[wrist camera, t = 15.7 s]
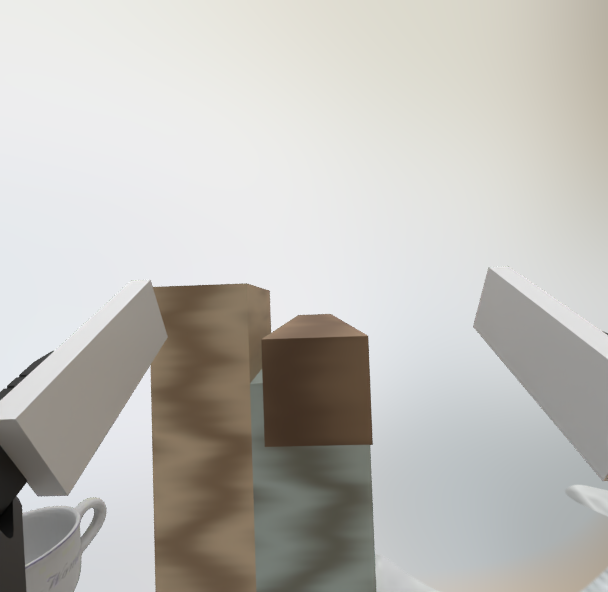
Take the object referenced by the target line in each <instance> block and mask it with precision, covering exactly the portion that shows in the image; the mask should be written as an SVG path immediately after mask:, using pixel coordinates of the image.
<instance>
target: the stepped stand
mask: <svg viewBox="0 0 608 592" xmlns="http://www.w3.org/2000/svg"><path fill="white" fill-rule="evenodd" d="M153 290H154V293H155V296H156V300H157V303H158V306H159V310H160V313H161V316H162V320H163V323H164V326H165V330H166V333H167V336H168V338H167V339H166V341H165V342H164V344H163V346H162V347H161V349H160V350H159V352H158V354H157V355H156V357H155V358H154V360H153V362H152V363H151V397H152V399H151V400H152V401H151V402H152V446H153V447H152V448H153V493H154V538H155V585H156V592H376V575H375V551H374V527H373V503H372V480H371V454H370V445H334V446H288V447H265V441H264V410H263V378H262V347H261V339H263V338H264V337H266V336H267V335H269V334H270V333H271V319H270V291H269V290H265V289H262V288H259V287H256V286H253V285H249V284H224V285H223V284H221V285H197V286H169V287H153Z"/></svg>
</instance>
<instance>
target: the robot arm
mask: <svg viewBox="0 0 608 592" xmlns="http://www.w3.org/2000/svg"><path fill="white" fill-rule="evenodd" d="M473 327H474V328H475V329H476V331H477V332H478V333H479V334H480V335H481V337H482V338H483V339H484V340H485V341H486V343H487V344H488V345H489V346H490V347H491V348H492V350H493V351H494V352H495V353H496V355H497V356H498V357H499V358H500V359H501V360H502V362H503V363H504V364H505V365H506V366H507V368H508V369H509V370H510V371H511V372H512V374H513V375H514V376H515V377H516V378H517V379H518V381H519V382H520V383H521V384H522V385H523V387H524V388H525V389H526V390H527V391H528V393H529V394H530V395H531V396H532V397H533V399H534V400H535V401H536V402H537V403H538V404H539V406H540V407H541V408H542V409H543V411H544V412H545V413H546V414H547V415H548V416H549V418H550V419H551V420H552V421H553V422H554V424H555V425H556V426H557V427H558V428H559V430H560V431H561V432H562V433H563V434H564V436H565V437H566V438H567V439H568V440H569V441H570V443H571V444H572V445H573V446H574V447H575V449H577V451H578V452H579V453H580V455H581V456H582V457H583V458H584V459H585V460H586V462H587V463H588V464H589V465H590V466H591V468H592V469H593V470H594V471H595V472H596V474H597V475H598V476H599V477H600V478H601V480H602V481H608V333H605V332H603V331H601V330H599V329H598V328H597V327H595V326H594V325H592V324H591V323H590V322H588V321H586V320H585V319H584V318H582V317H581V316H579V315H578V314H577V313H575V312H574V311H572V310H571V309H569V308H568V307H567V306H565V305H564V304H562V303H561V302H559V301H558V300H556V299H555V298H554V297H552V296H551V295H549V294H548V293H546V292H545V291H543V290H542V289H540V288H539V287H538V286H536V285H535V284H533V283H532V282H530V281H529V280H528V279H526V278H525V277H523V276H522V275H520V274H519V273H517V272H516V271H515V270H513V269H512V268H510V267H509V266H505V267H489V268H488V271H487V275H486V279H485V283H484V287H483V291H482V294H481V298H480V302H479V306H478V310H477V313H476V318H475V321H474V326H473ZM167 338H168V336H167V333H166V330H165V326H164V323H163V320H162V316H161V313H160V310H159V306H158V303H157V300H156V296H155V293H154V290H153V286H152V283H151V280H135V281H134V280H133V281H130V282H129V283H128V284H127V285H126V286H125V287H124V288H122V289H121V290H120V291H119V292H118V293H117V294H116V295H115V296H114V297H113V298H112V299H110V300H109V301H108V302H107V303H106V304H105V305H104V306H103V307H102V308H101V309H100V310H99V311H97V312H96V313H95V314H94V315H93V316H92V317H91V318H90V319H89V320H88V321H87V322H85V324H83V325H82V326H81V327H80V328H79V329H78V330H77V331H76V332H75V333H73V334H72V335H71V336H70V337H69V338H68V339H67V340H66V341H65V342H64V343H63V344H62V345H60V346H59V347H58V348H57V349H56V350H55V351H52V352H50V353H48V354H47V355H45V356H43V357H42V358H40V359H38V360H37V361H35V362H33V363H32V364H31V365H30V366H29V367H28V368H27V369H26V370H24V371H23V372H22V373H21V374H20V375H19V378H15V379H14V380H13V381H12V382H11V383H10V384H9V385H8V386H7V389H3V390H2V391H1V392H0V592H26V573H25V555H24V536H23V518H22V505H21V503H20V501H19V499H18V498H17V496H16V495H17V494H18V493H19V491H20V490H21V489H22V488H23V486H24V485H25V484H26V482H27V483H28V484H29V486H30V487H31V488H32V490H33V491H34V492H35V493H36V495H37V496H68V495H69V493H70V492H71V490H72V489H73V487H74V485H75V484H76V482H77V481H78V479H79V477H80V476H81V474H82V473H83V471H84V469H85V468H86V466H87V465H88V463H89V461H90V460H91V458H92V457H93V455H94V454H95V452H96V451H97V449H98V447H99V446H100V444H101V442H102V441H103V439H104V438H105V436H106V435H107V433H108V431H109V430H110V428H111V427H112V425H113V423H114V422H115V420H116V419H117V417H118V416H119V414H120V412H121V411H122V409H123V408H124V406H125V404H126V403H127V401H128V400H129V398H130V396H131V395H132V393H133V392H134V390H135V389H136V387H137V385H138V384H139V382H140V381H141V379H142V377H143V376H144V374H145V373H146V371H147V369H148V368H149V366H150V365H151V363H152V362H153V360H154V358H155V357H156V355H157V354H158V352H159V350H160V349H161V347H162V346H163V344H164V342H165V341H166V339H167Z"/></svg>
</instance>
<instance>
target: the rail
mask: <svg viewBox="0 0 608 592" xmlns="http://www.w3.org/2000/svg"><path fill="white" fill-rule="evenodd" d="M261 347H262V378H263V410H264V441H265V447H288V446H334V445H372V444H373V443H372V420H371V394H370V369H369V346H368V336H367V335H365V334H364V333H362V332H361V331H359V330H357V329H355V328H354V327H352V326H350V325H349V324H347V323H345V322H343V321H342V320H340V319H338V318H337V317H335V316H333V315H331V314H318V315H298V316H296V317H295V318H293V319H292V320H290V321H289V322H287V323H286V324H284V325H283V326H281V327H280V328H278V329H277V330H275V331H273V332H272V333H270V334H269V335H267V336H266V337H264V338H263V339H261Z"/></svg>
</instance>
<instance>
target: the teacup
mask: <svg viewBox="0 0 608 592" xmlns="http://www.w3.org/2000/svg"><path fill="white" fill-rule="evenodd" d="M90 508H93V509H94V517H93V520H92V522H91V524H90V526H89V527H88V529H87V530H86V532H85V533H84V534H83V536H82V537H80V522H81V519H82V517H83V515H84V513H85V512H86V511H87V510H88V509H90ZM105 517H106V505H105V503H104V502H103V501H102V500H101V499H99V498H94V497H93V498H87V499H85V500H83V501H82V502H80V503H79V504H78V505H77V506H76V507H75V508H73V507H68V506H53V507H44V508H40V509H37V510H33V511H29V512H25V513H22V518H23V536H24V555H25V573H26V592H74V590H75V588H76V585H77V583H78V580H79V576H80V571H81V555H82V553H83V551H84V550H85V549H86V548H87V546H88V545H89V544H90V543H91V541H92V540H93V539H94V537H95V536H96V534H97V533H98V531H99V530H100V528H101V527H102V525H103V522H104V520H105Z"/></svg>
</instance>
